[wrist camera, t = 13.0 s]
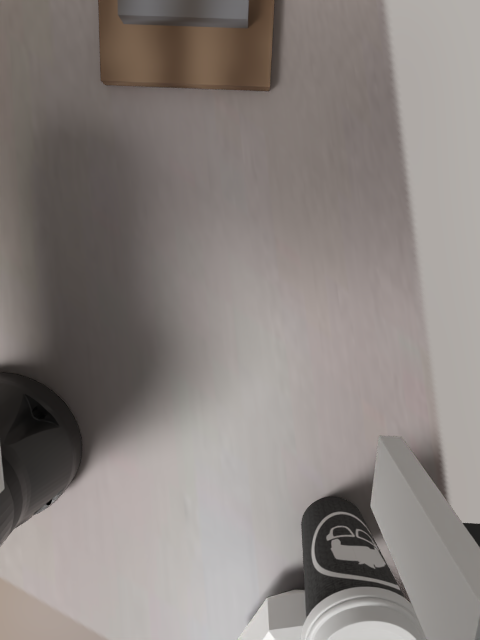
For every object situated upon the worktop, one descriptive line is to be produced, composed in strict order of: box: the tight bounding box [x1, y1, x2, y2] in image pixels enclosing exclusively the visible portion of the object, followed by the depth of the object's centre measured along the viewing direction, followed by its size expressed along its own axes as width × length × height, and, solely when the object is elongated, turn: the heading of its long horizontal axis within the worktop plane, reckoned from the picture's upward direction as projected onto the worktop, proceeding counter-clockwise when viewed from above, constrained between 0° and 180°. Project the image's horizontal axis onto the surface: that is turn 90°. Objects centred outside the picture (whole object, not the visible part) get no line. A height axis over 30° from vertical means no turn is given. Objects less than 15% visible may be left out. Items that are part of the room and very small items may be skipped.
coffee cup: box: [301, 497, 426, 640], centre depth 39 cm, size 10×10×15 cm
